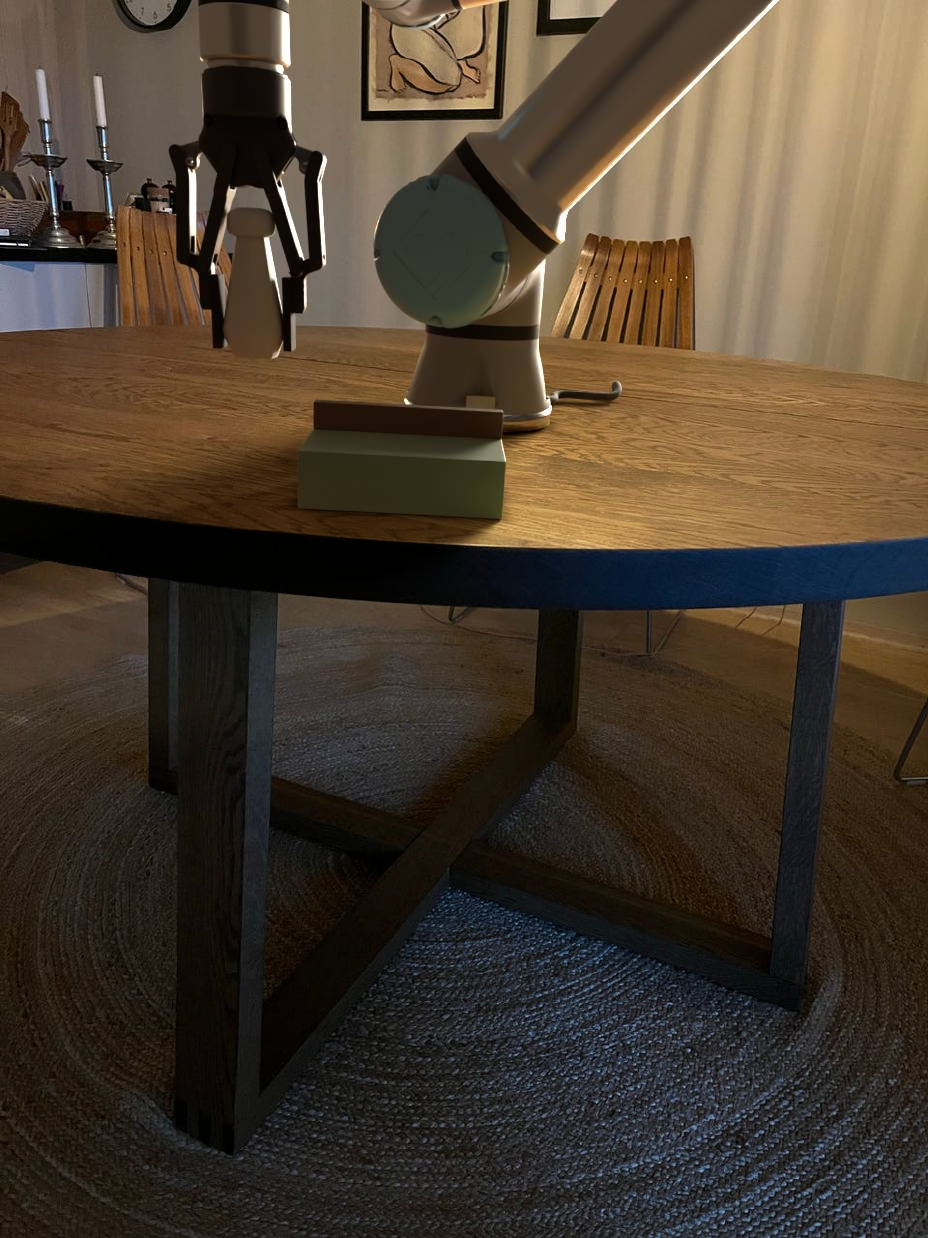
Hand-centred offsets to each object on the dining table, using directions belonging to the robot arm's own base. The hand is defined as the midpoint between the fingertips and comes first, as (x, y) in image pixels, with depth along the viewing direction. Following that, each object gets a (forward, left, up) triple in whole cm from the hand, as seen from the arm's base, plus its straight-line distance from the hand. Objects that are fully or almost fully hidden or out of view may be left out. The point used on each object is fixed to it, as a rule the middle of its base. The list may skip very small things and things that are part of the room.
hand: (255, 347), depth 94 cm
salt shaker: (0, 0, -1) cm, 1 cm away
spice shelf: (+5, +30, -7) cm, 31 cm away
